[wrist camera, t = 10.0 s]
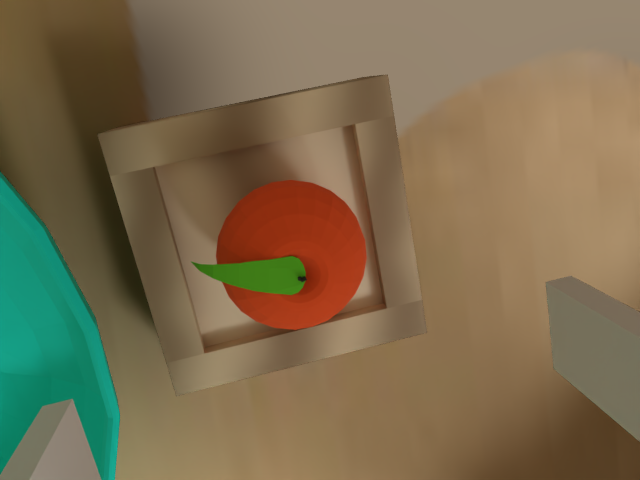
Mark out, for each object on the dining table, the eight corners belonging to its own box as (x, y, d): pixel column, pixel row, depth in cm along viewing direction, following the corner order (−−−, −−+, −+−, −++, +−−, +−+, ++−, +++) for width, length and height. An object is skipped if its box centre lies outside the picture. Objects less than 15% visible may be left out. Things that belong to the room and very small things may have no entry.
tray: (364, 77, 32) (387, 74, 27) (401, 301, 36) (427, 332, 31) (116, 127, 31) (97, 134, 26) (183, 355, 35) (176, 396, 30)
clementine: (197, 301, 30) (189, 363, 23) (193, 169, 28) (183, 194, 21) (347, 296, 31) (380, 354, 24) (352, 170, 29) (390, 194, 22)
